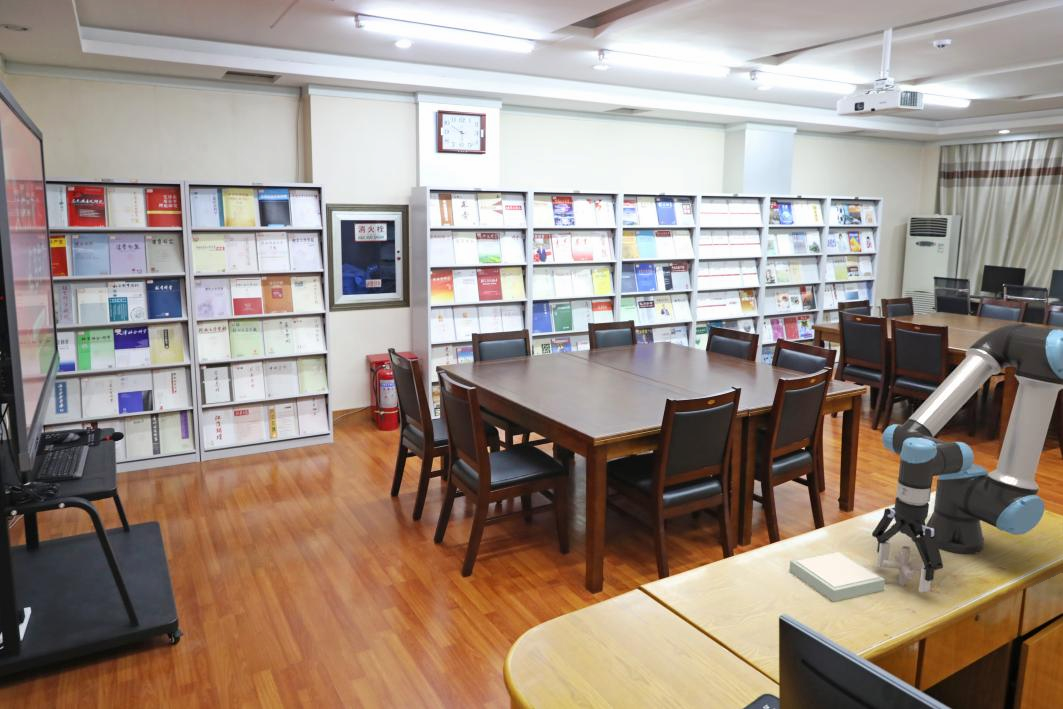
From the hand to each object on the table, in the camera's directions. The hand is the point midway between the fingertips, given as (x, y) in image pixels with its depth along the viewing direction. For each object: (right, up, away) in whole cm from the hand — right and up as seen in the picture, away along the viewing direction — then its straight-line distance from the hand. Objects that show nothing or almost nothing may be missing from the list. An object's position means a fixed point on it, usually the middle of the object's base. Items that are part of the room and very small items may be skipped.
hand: (902, 578), depth 190 cm
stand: (-17, -1, +2) cm, 17 cm away
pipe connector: (0, -2, 0) cm, 2 cm away
